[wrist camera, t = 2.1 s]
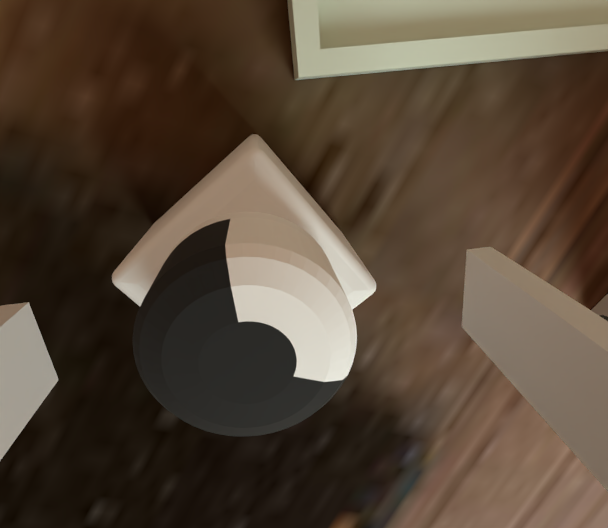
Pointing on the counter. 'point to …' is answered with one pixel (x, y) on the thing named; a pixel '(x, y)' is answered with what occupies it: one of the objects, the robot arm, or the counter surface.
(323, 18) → the tray
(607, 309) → the soap bottle
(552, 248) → the counter surface
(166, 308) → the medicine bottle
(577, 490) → the counter surface
